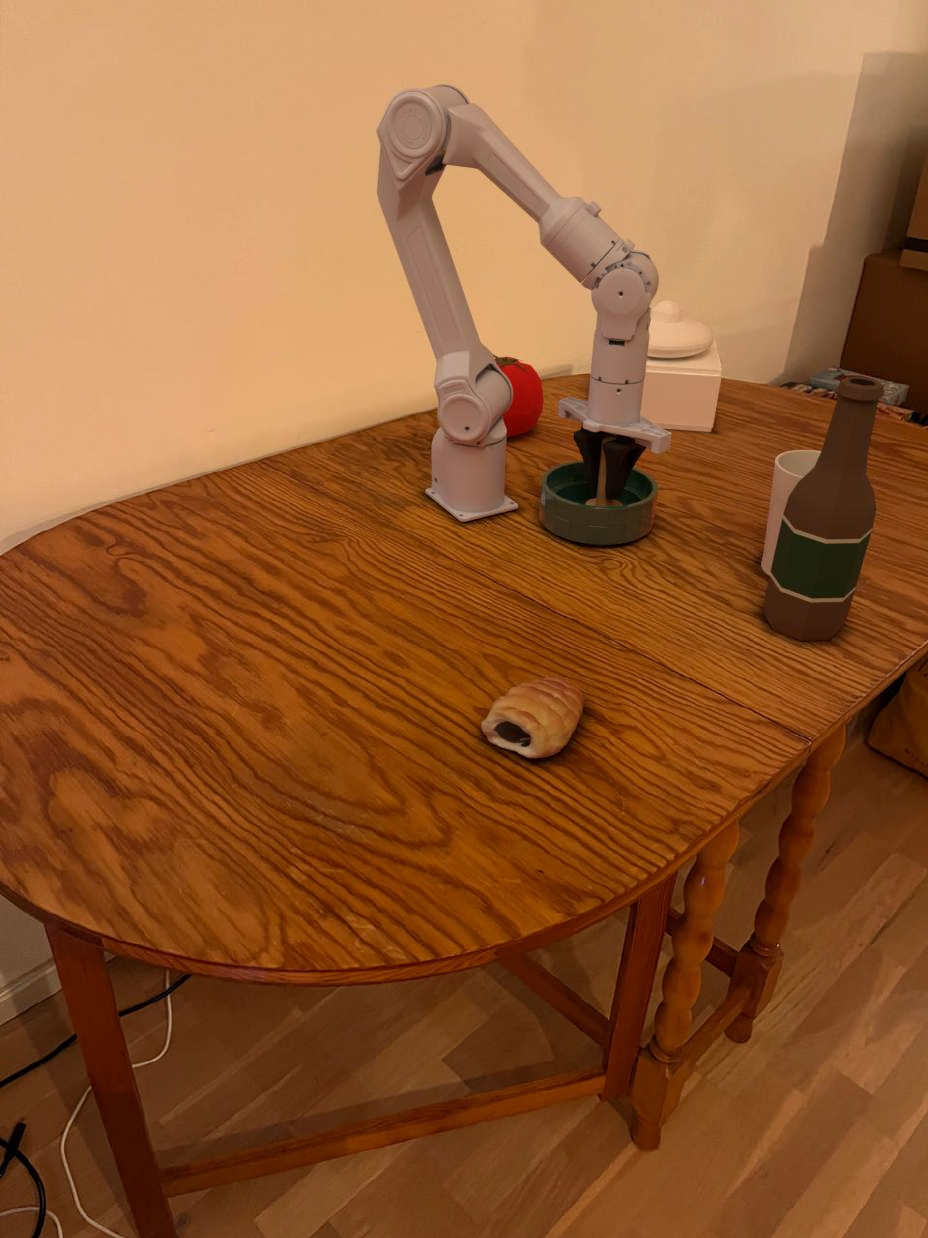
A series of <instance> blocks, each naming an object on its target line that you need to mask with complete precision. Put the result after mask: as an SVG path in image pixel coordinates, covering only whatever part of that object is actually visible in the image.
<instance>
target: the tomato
mask: <svg viewBox="0 0 928 1238" xmlns="http://www.w3.org/2000/svg"><path fill="white" fill-rule="evenodd" d="M493 355H494V358H495V361H496V364H497V365H498V367H499V368H500V370H501V371H502V372H503V373H504V374H505V375H506V376H507V377H508V379H509V380H510V382H511V385H512V388H513V401H512V404H511V406H510V408H509V409H508V410H507V412H506V413H504V414H503V421H504V424H505V427H506V429H507V435H506V436H507V438H509V437H515V436H519V435H522V434H525V433H527V432H528V431H530V430H531V429H532V428H533V427H534V426H535V425H536V424H537V422H538V421H539V419H540V416H541V415H542V413H543V410H544V402H545V401H544V391H543V383H542V379H541V378H540V376H539V374H538V372H537V371H536V369H535V368H534V367H533V366H532V365H531V364H528V363H524V362H522V360H520V359H518V358H515V357H511V356H502V357H501V356H497V355H496V354H494V353H493Z"/></svg>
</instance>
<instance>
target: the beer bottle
mask: <svg viewBox="0 0 928 1238" xmlns="http://www.w3.org/2000/svg"><path fill="white" fill-rule="evenodd" d="M835 392H836V393H837V394H838V397H837V400H836V402H835V406H834V409H833V413H832V415H831V419H830V422H829V425H828V428H827V432H826V435H825V439H824V442H823V445H822V449H821V450H820V451H821V453H820V456H819V458H818V460H817V462H816V464H815V467H814V468H813V469H812V470H811V471H810V472H809V473H807V474H806V475H805V476H804V477H803V478H802V479H801V480H800V481H799V482H798V483H797V485H796V486H795V488H794V489H793V491H792V492H791V494H790V495H789V497H788V500H787V504H786V507H785V510H784V513H783V517H782V522H781V526H780V531H779V535H778V540H777V544H776V549H775V553H774V558H773V562H772V567H771V571H770V576H769V575H768V580H767V585H766V589H765V590H766V591H765V594H764V600H763V607H762V613H763V616H764V618H765V619H766V621H767V623H768V624H769V626H770V627H771V629H772V631H774V632H777V633H778V634H782V635H784V636H787V637H789V638H792V639H794V640H797V641H800V642H818V641H820V642H823V641H825V642H826V641H830V640H831V639H832V638H833V637H834V636H835V635H836V634H837V633H839V631H840V630H841V629H842V628H844V626H845V623H846V621H847V618H848V615H849V613H850V609H851V606H852V602H853V599H854V596H855V592H856V588H857V585H858V583H859V579H860V578H859V577H860V574H861V572H862V571H861V570H862V567H863V564H864V560H865V556H866V553H867V551H868V550H867V549H868V546H869V542H870V539H871V535H872V532H873V528H874V524H875V518H876V513H877V503H876V495H875V491H874V488H873V486H872V484H871V481H870V480H869V477H868V475H867V471H868V470H867V467H868V455H869V452H870V451H869V450H870V446H871V440H872V435H873V430H874V427H875V426H874V425H875V420H876V416H877V411H878V410H877V409H878V404H879V400H880V399H882V398H884V397H885V387H884V384H882V383H881V382H880V381H878V380H877V379H874V378H871V377H866V376H863V375H862V376H861V375H859V376H852V375H851V376H847V377H845V378H843V379H841V380H840V381H839V383H838V386H837V387H836V389H835Z"/></svg>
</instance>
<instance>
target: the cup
mask: <svg viewBox="0 0 928 1238" xmlns="http://www.w3.org/2000/svg"><path fill="white" fill-rule="evenodd" d="M821 451H822V450H813V449H794V450H787V451H784V452H781V453H780V454H778V455H777V456H775V459H774V465H773V466H774V467H773V476H772V484H771V492H770V500H769V505H768V506H769V508H768V513H767V514H768V515H767V522H766V523H767V524H766V530H765V531H766V532H765V538H764V546H763V553H762V558H761V563H760V567H761V569H762V571H763V572H764V573H765V574H766V575H767V576H768V577H769V576H770V571H771V567H772V562H773V558H774V553H775V549H776V544H777V540H778V535H779V531H780V526H781V522H782V517H783V513H784V510H785V507H786V504H787V500H788V497H789V495H790V494H791V492H792V491H793V489H794V488H795V486H796V485H797V483H798V482H799V481H800V480H801V479H802V478H803V477H804V476H805V475H806V474H807V473H809V472H810V471H811V470H812V469H813V468H814V467H815V464H816V462H817V460H818V458H819V456H820V453H821Z"/></svg>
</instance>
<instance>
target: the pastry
mask: <svg viewBox="0 0 928 1238" xmlns="http://www.w3.org/2000/svg"><path fill="white" fill-rule="evenodd" d="M584 703H585V696H584V693H583V691H582V689H581V688H580V686H577V685H576V684H574V683H573V682H570V681H568V680H567V678H565V677H564V676H552V675H551V676H546V677H542V678H537V677H536V678H533V679H532V680H531V681H523V682H521V683H520V684H519V685H517V686H512V687H510V688H509V690H508V692H507V693H506V694H505V695H501V696H498V697H497V698H495V700H493V702H492V705H491V707H490V710H489V713H488V715H487V716H486V718H485V719H484V720H482V721H481V723H480V729H481V732H482V733H483V735H485V736H486V739H487V741H488V742H489V743H490V744H493V745H495V746H497V747H500V748H501V749H504V750H507V751H512V752H516V753H517V754H519V755H521V756H523V757H525V758H528V759H540V758H541V759H542V758H543V759H544V758H548V757H552V756H554V755H556V754H558V753H559V752H561V750H563V749H564V747H566V746H567V745H568V743H569V740H570V739H571V738H572V735H574V732H575V731H576V729H577V726H578V723H579V721H580V719H581V716H582V714H583V709H584Z"/></svg>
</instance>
